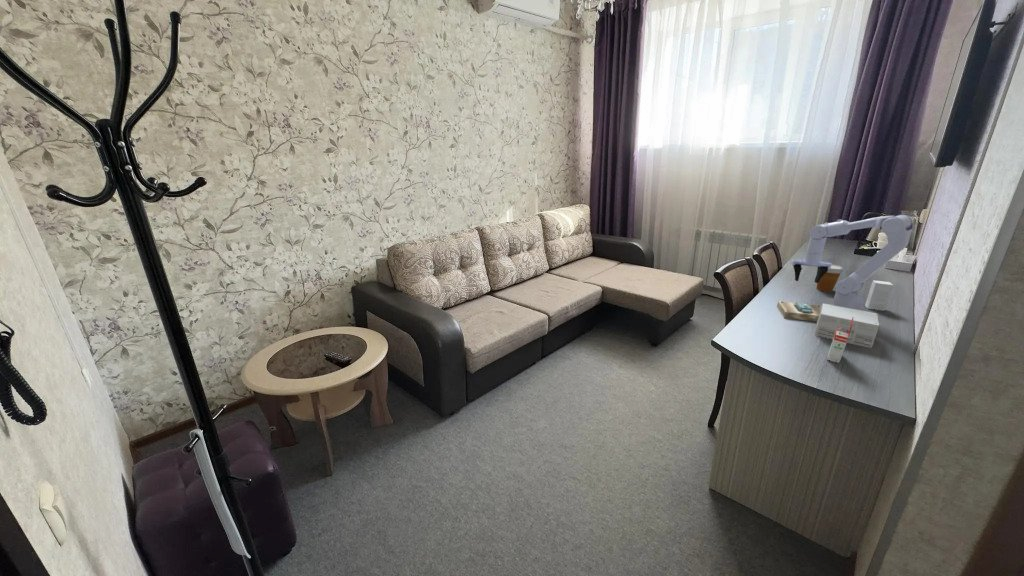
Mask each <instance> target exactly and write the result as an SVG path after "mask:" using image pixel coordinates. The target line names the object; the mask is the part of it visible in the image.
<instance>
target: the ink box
mask: <svg viewBox="0 0 1024 576" xmlns="http://www.w3.org/2000/svg"><path fill="white" fill-rule="evenodd" d="M852 324H853V318H852V321H851V324H850V328H849V329H846V328H842V327H837V329H836V332H835V335H834V338H833V339H832V341H831V344H830V347H829V349H828V353H827V358H826V360H827V361H829V360H830V362H832V363H836V362H837V363H836V364H839V363H840V362H841V360H842V357H843V354H844V352H845V351H844V350H845V348H846V345H847V344H848V343H847V340H848V337H849V334H850V331H851V328H852Z"/></svg>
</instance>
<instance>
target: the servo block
mask: <svg viewBox="0 0 1024 576" xmlns="http://www.w3.org/2000/svg"><path fill="white" fill-rule="evenodd" d="M795 303H796V306H795V308H796V309H797V310H798V311H799V312H808V313H811V310H812V308H811V307H810V306H809V305H810V304H809V303H808V302H799V301H797V302H795Z"/></svg>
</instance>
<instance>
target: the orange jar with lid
mask: <svg viewBox="0 0 1024 576" xmlns="http://www.w3.org/2000/svg"><path fill="white" fill-rule="evenodd" d="M831 264H832V263H831ZM843 270H844V269H843V267H842V266H840V265H838V264H832V265H831V268H828V271H827V272H826V273H825V274H824V275H823V276H822V277H821V279H820V280H819V282H818V283H816V290H818V291H821V292H825V293H827V292H828V293H831V291H832V292H833V290H834V288H835V286H836V283H837V282H838V280H839V277H840V276H841V274H842V273H843Z"/></svg>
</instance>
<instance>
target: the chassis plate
mask: <svg viewBox="0 0 1024 576" xmlns="http://www.w3.org/2000/svg"><path fill="white" fill-rule="evenodd" d="M795 306H796V302H791V301H790V302H789V301H780V300H778V301H777V304H776V307H777V309H778V311H779V313H780V314H781V315H782V318H785V319H786V318H787V319H792V320H793V319H795V320H803V321H809V322H817V321H818V318H819V314H820V311H821V308H822V305H816V304H809V306H810V307H811V308H812V310H811V313H808V312H799V311H798V310H797V309H796V308H795Z"/></svg>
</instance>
